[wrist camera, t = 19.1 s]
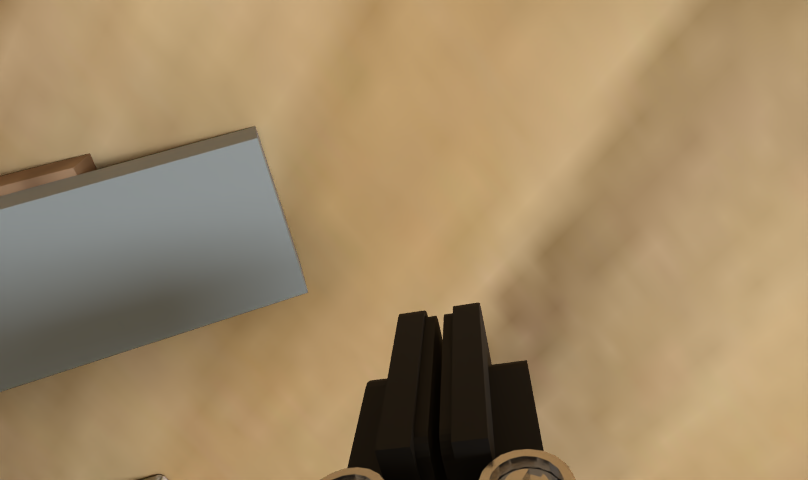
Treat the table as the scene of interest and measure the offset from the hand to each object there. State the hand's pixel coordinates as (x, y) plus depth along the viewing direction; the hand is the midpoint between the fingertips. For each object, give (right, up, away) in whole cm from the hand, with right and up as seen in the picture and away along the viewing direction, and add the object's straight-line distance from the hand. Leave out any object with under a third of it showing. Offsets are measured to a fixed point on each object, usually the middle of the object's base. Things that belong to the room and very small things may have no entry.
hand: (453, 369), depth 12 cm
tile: (-5, +4, +9) cm, 11 cm away
